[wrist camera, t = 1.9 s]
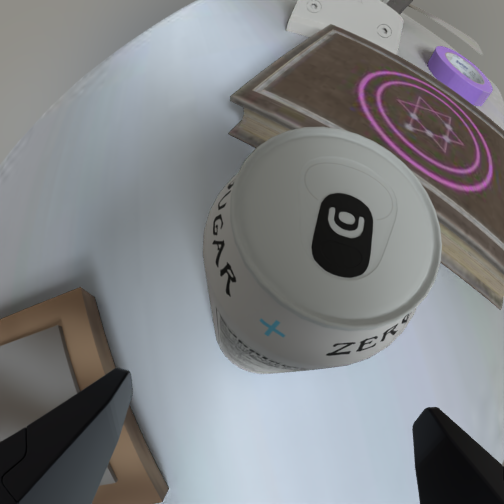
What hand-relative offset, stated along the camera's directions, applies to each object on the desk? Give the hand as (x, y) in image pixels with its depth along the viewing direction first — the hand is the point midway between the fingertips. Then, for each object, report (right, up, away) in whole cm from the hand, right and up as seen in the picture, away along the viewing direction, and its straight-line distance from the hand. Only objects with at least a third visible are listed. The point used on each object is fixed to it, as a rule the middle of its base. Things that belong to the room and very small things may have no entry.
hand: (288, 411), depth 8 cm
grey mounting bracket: (+13, +36, +29) cm, 48 cm away
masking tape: (+33, +33, +30) cm, 55 cm away
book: (+16, +15, +21) cm, 30 cm away
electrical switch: (+27, +53, +38) cm, 70 cm away
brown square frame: (-16, -7, +8) cm, 19 cm away
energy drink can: (0, -1, +12) cm, 12 cm away
